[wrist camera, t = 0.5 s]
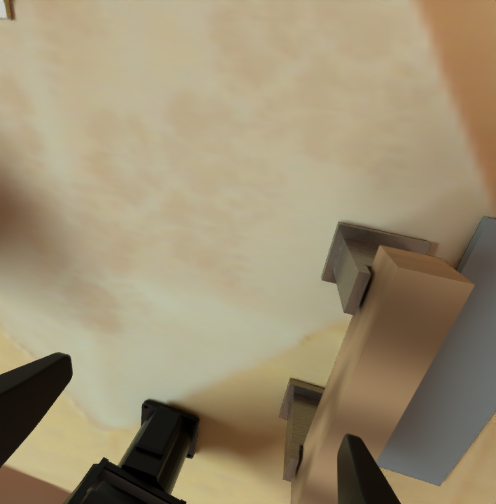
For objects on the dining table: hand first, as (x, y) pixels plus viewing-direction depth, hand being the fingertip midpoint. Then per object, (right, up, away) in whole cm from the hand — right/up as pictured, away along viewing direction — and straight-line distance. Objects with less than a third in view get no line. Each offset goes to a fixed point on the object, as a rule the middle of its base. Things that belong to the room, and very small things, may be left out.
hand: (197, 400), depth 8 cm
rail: (+8, -4, +9) cm, 13 cm away
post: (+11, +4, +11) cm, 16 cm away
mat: (+18, -5, +13) cm, 22 cm away
